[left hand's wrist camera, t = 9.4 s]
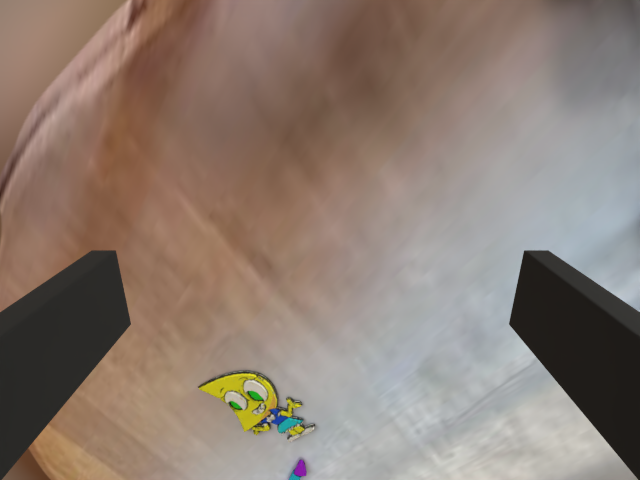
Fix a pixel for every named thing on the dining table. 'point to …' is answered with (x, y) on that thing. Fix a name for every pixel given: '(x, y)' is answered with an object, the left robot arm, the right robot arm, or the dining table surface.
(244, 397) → the toy
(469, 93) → the dining table surface
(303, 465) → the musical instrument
